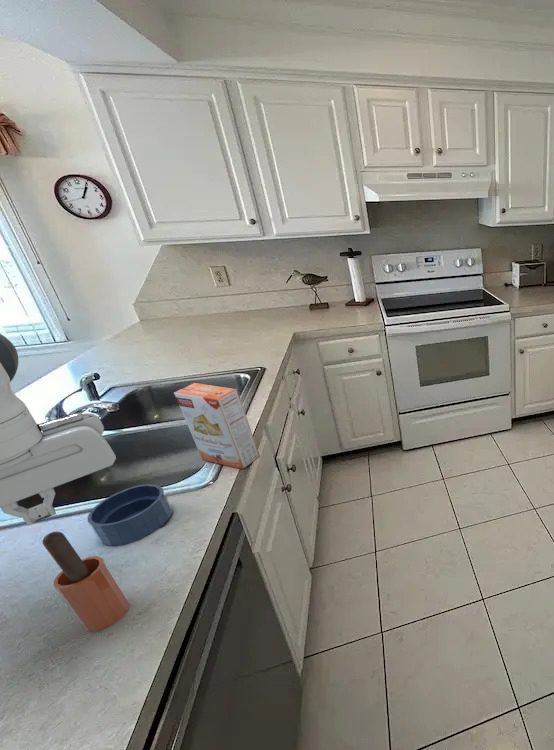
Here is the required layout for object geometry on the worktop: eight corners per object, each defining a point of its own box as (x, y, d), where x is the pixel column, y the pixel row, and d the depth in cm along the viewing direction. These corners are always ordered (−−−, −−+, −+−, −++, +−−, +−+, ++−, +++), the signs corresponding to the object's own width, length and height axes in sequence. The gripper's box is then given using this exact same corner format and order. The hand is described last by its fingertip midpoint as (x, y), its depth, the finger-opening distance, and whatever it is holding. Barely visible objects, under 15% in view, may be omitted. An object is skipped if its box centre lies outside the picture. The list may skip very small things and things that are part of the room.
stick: (96, 622, 68) (35, 542, 58) (102, 610, 70) (44, 530, 60) (113, 618, 69) (56, 538, 59) (118, 606, 70) (63, 526, 60)
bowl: (88, 555, 81) (74, 533, 79) (117, 512, 92) (105, 492, 89) (161, 538, 85) (149, 516, 82) (180, 498, 95) (171, 478, 93)
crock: (78, 639, 66) (44, 593, 61) (96, 607, 71) (66, 562, 66) (122, 626, 68) (92, 581, 63) (137, 596, 73) (110, 551, 68)
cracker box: (201, 462, 108) (171, 391, 99) (221, 449, 113) (195, 381, 104) (242, 471, 104) (215, 398, 95) (261, 457, 109) (237, 387, 100)
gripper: (90, 401, 63) (127, 473, 69) (-138, 466, 49) (-67, 550, 55) (98, 414, 59) (136, 489, 65) (-146, 489, 45) (-69, 576, 51)
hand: (42, 518), depth 60 cm, fingers closed
